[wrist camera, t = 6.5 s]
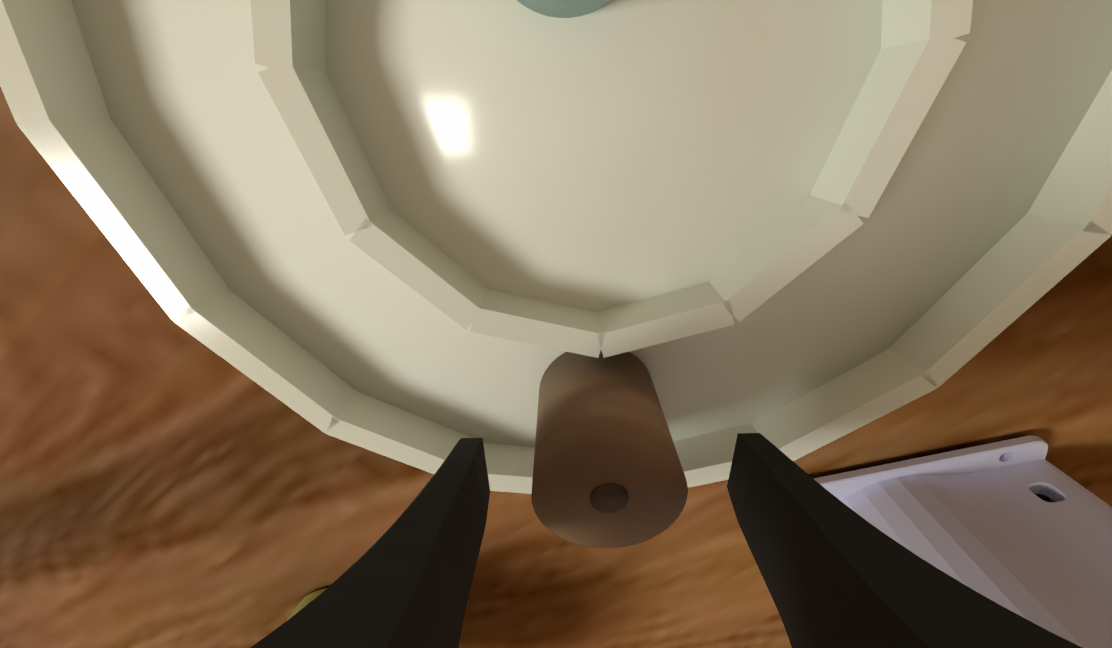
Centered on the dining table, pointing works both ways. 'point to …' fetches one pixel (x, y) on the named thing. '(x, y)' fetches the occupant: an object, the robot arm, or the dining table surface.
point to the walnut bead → (604, 453)
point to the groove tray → (580, 197)
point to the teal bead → (564, 7)
